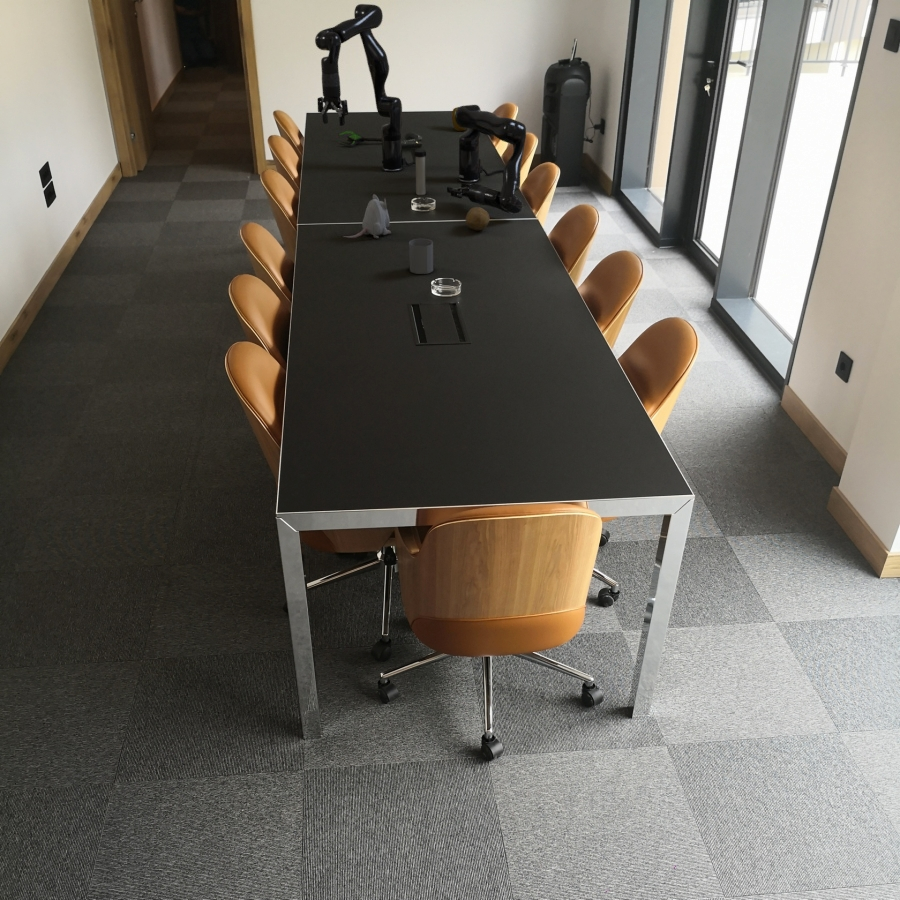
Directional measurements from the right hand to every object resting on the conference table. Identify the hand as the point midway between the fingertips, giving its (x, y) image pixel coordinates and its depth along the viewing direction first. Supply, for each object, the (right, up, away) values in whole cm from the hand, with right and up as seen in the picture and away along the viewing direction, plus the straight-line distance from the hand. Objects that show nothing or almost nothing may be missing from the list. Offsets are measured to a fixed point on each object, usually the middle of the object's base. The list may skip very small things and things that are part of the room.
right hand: (454, 187), depth 371 cm
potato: (+9, -24, -25) cm, 36 cm away
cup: (-12, -48, -62) cm, 80 cm away
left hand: (-52, +28, +2) cm, 59 cm away
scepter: (-47, +51, +93) cm, 116 cm away
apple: (+5, +69, +120) cm, 138 cm away
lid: (-15, +18, +7) cm, 24 cm away
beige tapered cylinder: (-15, +2, +17) cm, 23 cm away
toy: (-34, -30, -34) cm, 57 cm away
